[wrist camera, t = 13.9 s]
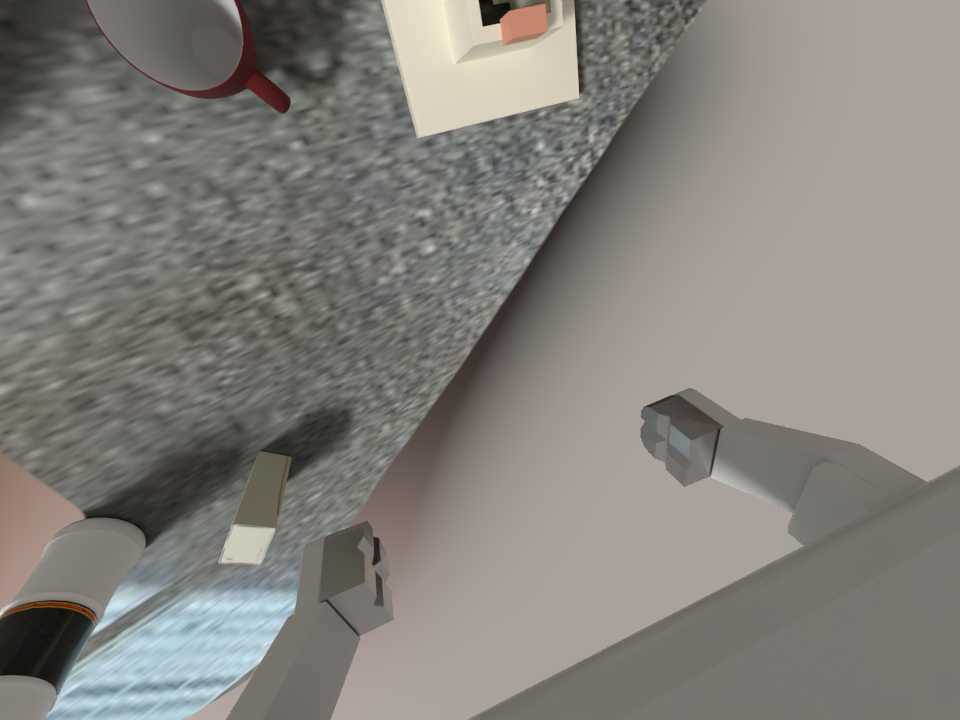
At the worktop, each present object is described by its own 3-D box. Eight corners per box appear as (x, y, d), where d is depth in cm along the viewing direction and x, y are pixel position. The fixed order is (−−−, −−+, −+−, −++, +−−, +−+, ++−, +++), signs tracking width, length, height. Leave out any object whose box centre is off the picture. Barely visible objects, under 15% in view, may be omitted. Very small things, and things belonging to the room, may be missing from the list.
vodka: (154, 516, 48) (-62, 902, 23) (143, 562, 51) (-61, 952, 26) (59, 510, 44) (-334, 974, 19) (52, 561, 47) (-297, 1024, 22)
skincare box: (279, 487, 52) (261, 566, 42) (244, 483, 50) (216, 565, 40) (293, 454, 50) (277, 529, 40) (257, 448, 48) (232, 525, 38)
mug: (316, 60, 32) (303, 23, 24) (284, 148, 34) (262, 143, 26) (173, -42, 27) (93, -134, 19) (147, 68, 29) (64, 30, 21)
